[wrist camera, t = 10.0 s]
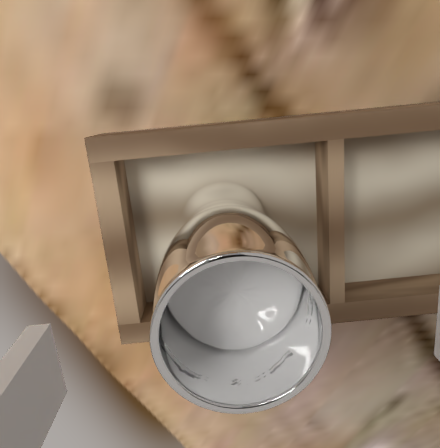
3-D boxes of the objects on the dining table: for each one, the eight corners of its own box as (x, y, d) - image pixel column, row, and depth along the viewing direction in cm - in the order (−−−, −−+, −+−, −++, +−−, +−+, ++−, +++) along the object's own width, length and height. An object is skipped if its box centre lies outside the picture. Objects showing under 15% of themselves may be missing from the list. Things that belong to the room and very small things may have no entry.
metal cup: (250, 159, 28) (300, 214, 13) (285, 247, 29) (362, 380, 15) (158, 198, 28) (108, 292, 14) (198, 282, 30) (191, 443, 16)
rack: (101, 133, 28) (84, 137, 24) (529, 93, 28) (583, 90, 24) (132, 314, 32) (121, 344, 28) (508, 277, 32) (551, 301, 28)
